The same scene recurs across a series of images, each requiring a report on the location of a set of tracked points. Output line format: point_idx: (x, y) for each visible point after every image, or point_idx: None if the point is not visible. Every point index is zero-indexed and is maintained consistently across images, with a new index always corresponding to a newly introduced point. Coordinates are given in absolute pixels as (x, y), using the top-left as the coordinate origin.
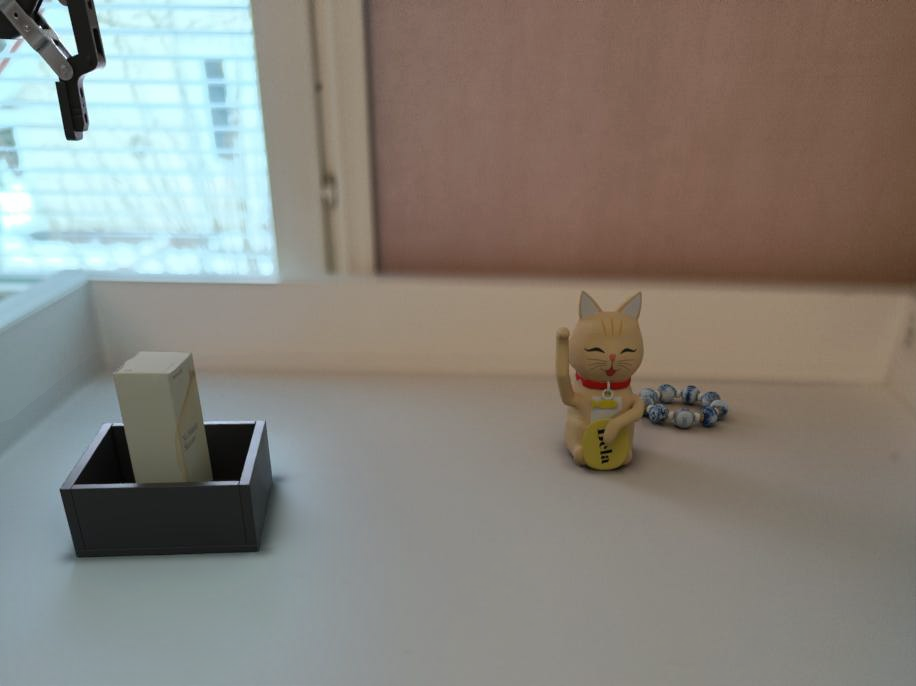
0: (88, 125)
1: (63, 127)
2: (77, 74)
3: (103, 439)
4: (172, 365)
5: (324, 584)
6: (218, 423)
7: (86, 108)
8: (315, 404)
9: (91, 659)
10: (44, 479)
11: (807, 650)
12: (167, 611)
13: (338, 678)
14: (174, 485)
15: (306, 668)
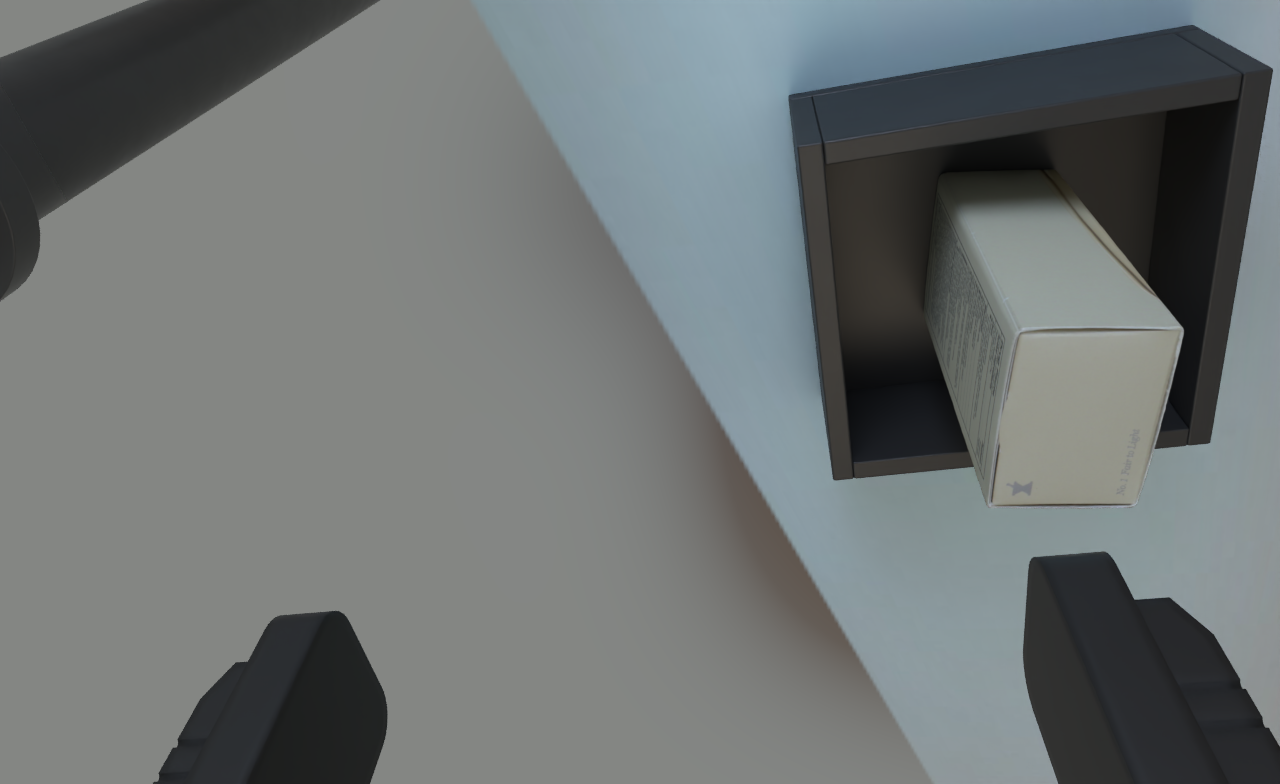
0: (1195, 624)
1: (1042, 736)
2: None
3: (831, 242)
4: (1136, 446)
5: (1270, 450)
6: (1125, 112)
7: (1258, 720)
8: None
9: (933, 611)
10: (604, 85)
11: None
12: (1012, 524)
13: (1258, 633)
14: None
15: (1217, 619)
